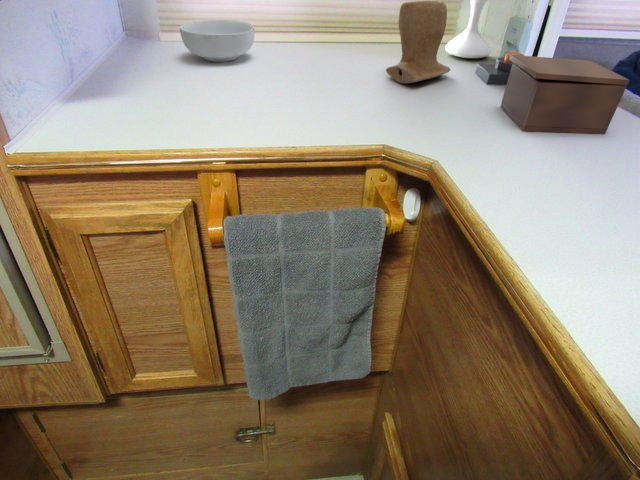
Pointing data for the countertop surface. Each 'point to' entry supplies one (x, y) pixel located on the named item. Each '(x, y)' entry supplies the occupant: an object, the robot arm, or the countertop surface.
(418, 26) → the brown flared post
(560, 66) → the lid
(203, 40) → the cereal bowl
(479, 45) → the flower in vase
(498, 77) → the button block
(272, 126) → the countertop surface
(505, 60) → the button
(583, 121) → the chest
